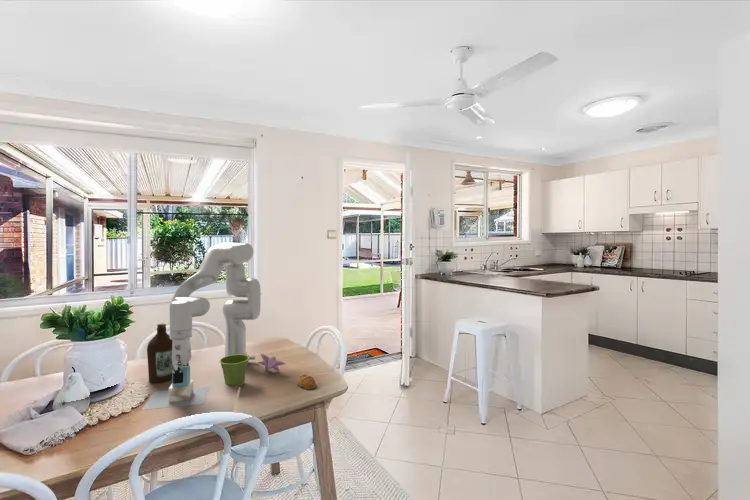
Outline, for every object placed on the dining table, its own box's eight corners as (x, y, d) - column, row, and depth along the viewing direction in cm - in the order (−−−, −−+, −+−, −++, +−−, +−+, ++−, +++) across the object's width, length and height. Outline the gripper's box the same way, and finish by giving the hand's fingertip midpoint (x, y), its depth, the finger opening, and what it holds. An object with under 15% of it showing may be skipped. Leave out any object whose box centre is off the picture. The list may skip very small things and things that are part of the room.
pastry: (320, 387, 155) (320, 378, 155) (306, 392, 150) (306, 382, 150) (308, 380, 162) (308, 372, 162) (295, 384, 158) (295, 376, 157)
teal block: (190, 380, 143) (190, 365, 143) (187, 385, 138) (187, 370, 138) (175, 382, 142) (175, 366, 142) (172, 387, 137) (172, 371, 137)
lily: (288, 377, 168) (289, 356, 172) (268, 374, 159) (270, 351, 163) (269, 380, 173) (271, 359, 178) (249, 377, 165) (252, 355, 169)
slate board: (210, 390, 150) (210, 386, 150) (203, 407, 135) (203, 403, 135) (155, 395, 145) (155, 391, 145) (141, 414, 130) (141, 409, 130)
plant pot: (219, 381, 159) (219, 356, 158) (248, 378, 163) (248, 353, 163) (219, 392, 148) (219, 365, 148) (250, 388, 153) (250, 361, 152)
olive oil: (143, 382, 157) (143, 324, 156) (170, 375, 165) (170, 320, 164) (152, 389, 150) (152, 328, 149) (180, 382, 158) (179, 324, 157)
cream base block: (193, 392, 144) (193, 379, 144) (189, 400, 138) (189, 386, 138) (173, 394, 143) (173, 381, 142) (168, 402, 136) (168, 388, 136)
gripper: (186, 338, 132) (187, 386, 133) (196, 327, 149) (196, 369, 149) (163, 340, 130) (163, 388, 131) (175, 328, 147) (175, 370, 147)
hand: (181, 378), depth 140 cm, fingers open, 9 cm apart
